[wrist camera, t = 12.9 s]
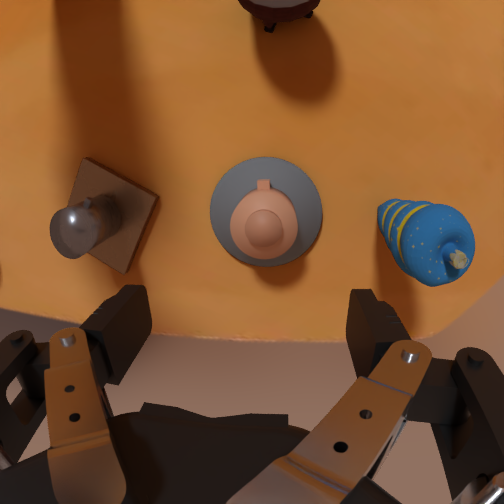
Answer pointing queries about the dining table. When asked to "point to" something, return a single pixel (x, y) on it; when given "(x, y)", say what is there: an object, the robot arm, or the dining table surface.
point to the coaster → (281, 178)
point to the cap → (264, 222)
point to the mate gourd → (279, 10)
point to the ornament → (427, 239)
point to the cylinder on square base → (103, 217)
